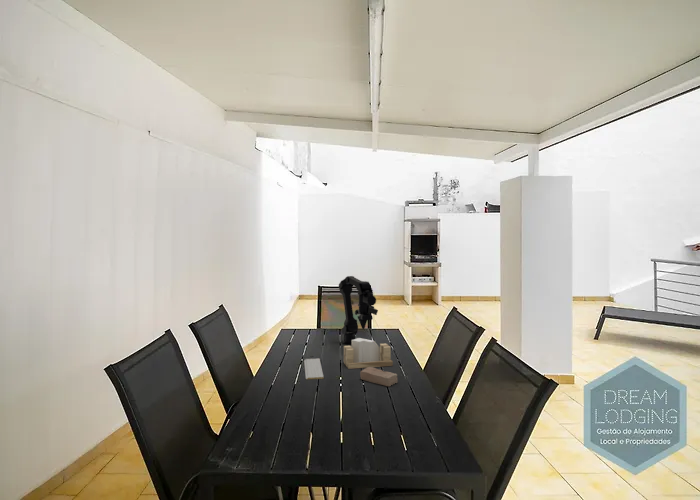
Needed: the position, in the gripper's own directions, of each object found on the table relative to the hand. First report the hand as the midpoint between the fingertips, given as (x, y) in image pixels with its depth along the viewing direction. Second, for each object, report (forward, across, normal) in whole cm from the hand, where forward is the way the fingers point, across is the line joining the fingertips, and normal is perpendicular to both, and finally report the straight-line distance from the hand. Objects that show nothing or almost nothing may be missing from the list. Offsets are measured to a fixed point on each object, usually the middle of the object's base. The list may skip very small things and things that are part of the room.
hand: (363, 328), depth 255 cm
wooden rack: (+13, -26, +4) cm, 29 cm away
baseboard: (+14, -28, +35) cm, 46 cm away
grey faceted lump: (+13, -21, +4) cm, 25 cm away
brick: (+14, -51, +6) cm, 53 cm away
